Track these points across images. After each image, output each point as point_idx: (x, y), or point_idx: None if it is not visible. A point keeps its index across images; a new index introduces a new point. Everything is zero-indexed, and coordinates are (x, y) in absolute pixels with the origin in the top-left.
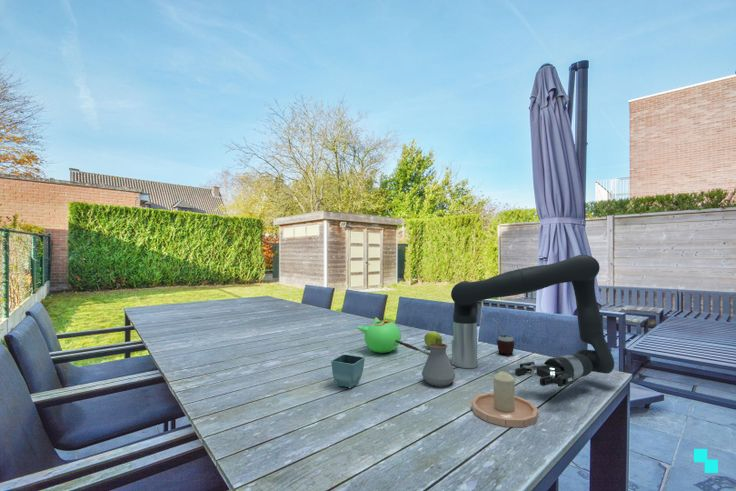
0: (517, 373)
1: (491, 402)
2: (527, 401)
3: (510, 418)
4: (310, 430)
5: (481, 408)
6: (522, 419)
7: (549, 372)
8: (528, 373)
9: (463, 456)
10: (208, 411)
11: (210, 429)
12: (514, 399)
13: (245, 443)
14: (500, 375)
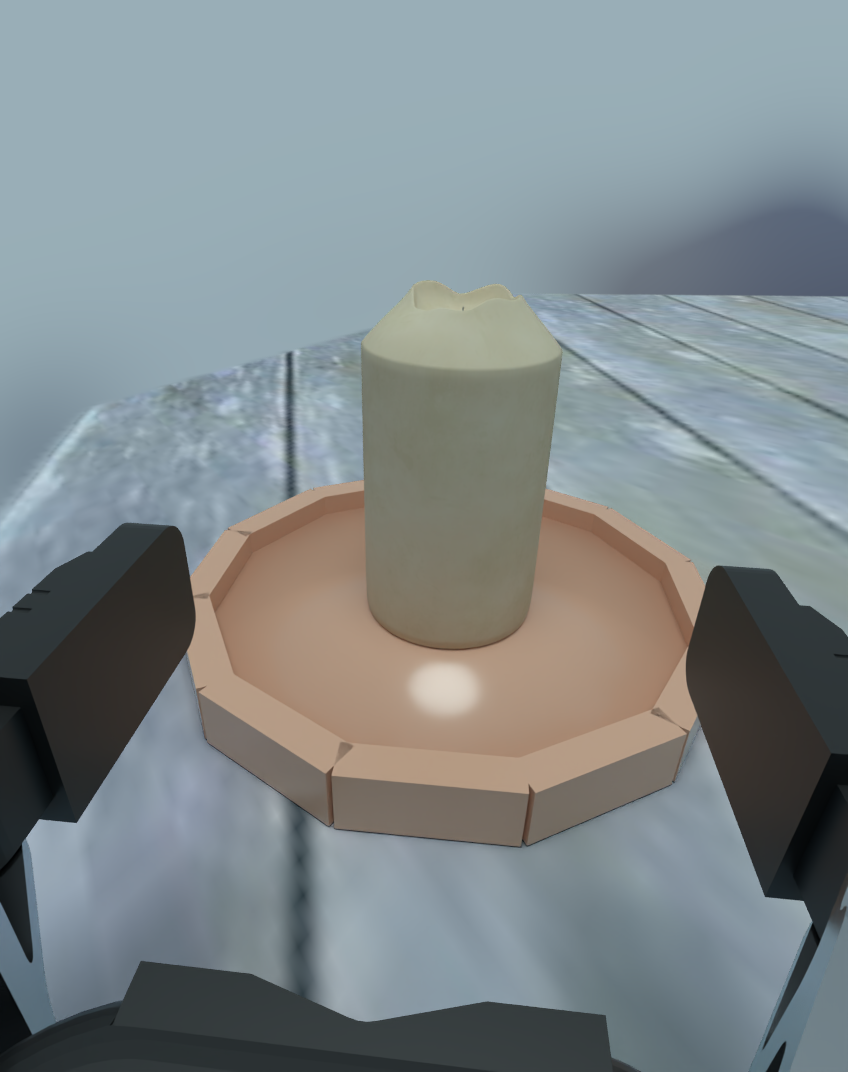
0: (697, 627)
1: (576, 602)
2: (375, 765)
3: (299, 505)
4: (626, 330)
5: None
6: (237, 531)
7: (13, 1054)
8: (787, 979)
9: (306, 395)
10: (780, 301)
11: (690, 297)
12: (370, 535)
13: (614, 303)
14: (456, 295)
